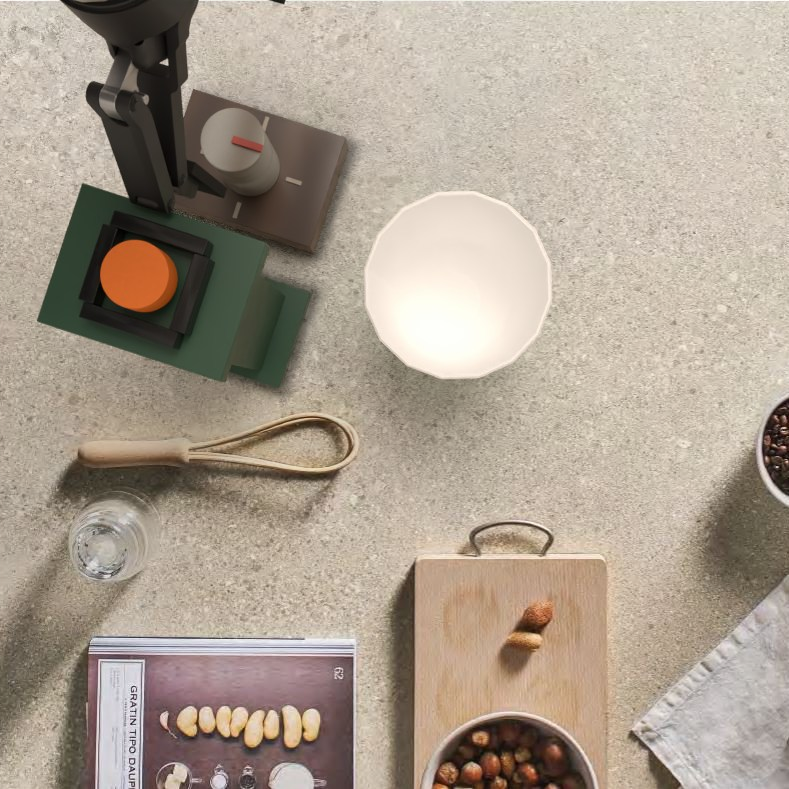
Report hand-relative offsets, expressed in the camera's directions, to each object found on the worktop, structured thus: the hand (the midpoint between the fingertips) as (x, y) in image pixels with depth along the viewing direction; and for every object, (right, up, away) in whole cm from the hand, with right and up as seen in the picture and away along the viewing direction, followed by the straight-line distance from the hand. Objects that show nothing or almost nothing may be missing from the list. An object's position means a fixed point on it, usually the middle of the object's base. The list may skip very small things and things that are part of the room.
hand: (238, 92), depth 61 cm
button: (-4, -14, -8) cm, 17 cm away
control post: (-4, -14, +18) cm, 23 cm away
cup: (+16, -13, +18) cm, 27 cm away
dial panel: (-1, -1, +18) cm, 18 cm away
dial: (-2, -1, +15) cm, 15 cm away
